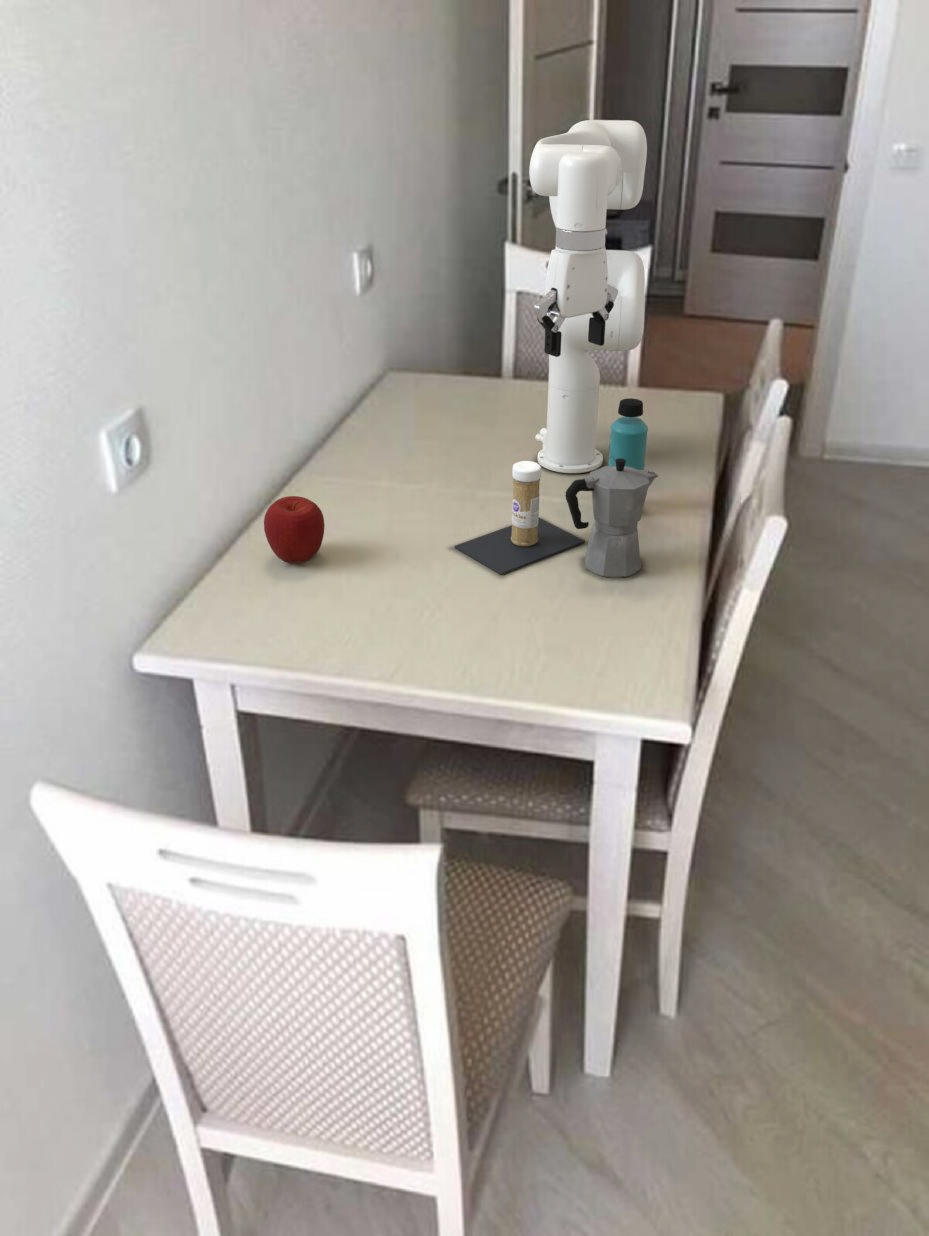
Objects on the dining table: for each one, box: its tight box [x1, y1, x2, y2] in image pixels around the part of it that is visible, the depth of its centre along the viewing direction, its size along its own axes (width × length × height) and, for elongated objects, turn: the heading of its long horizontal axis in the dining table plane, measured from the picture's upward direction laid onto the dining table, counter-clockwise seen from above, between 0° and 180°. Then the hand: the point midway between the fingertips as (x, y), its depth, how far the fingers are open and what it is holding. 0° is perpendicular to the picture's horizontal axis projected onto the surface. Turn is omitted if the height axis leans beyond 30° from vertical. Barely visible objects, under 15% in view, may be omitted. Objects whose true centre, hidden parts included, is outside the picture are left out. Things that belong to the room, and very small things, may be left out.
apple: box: [263, 495, 326, 564], centre depth 168 cm, size 10×10×10 cm
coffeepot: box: [565, 458, 659, 579], centre depth 163 cm, size 15×9×18 cm, turn 110°
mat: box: [454, 517, 586, 576], centre depth 174 cm, size 12×18×1 cm, turn 128°
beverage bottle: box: [607, 397, 649, 470], centre depth 181 cm, size 6×7×20 cm
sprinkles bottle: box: [511, 460, 542, 547], centre depth 171 cm, size 5×5×14 cm
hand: (574, 349), depth 172 cm, fingers open, 9 cm apart
